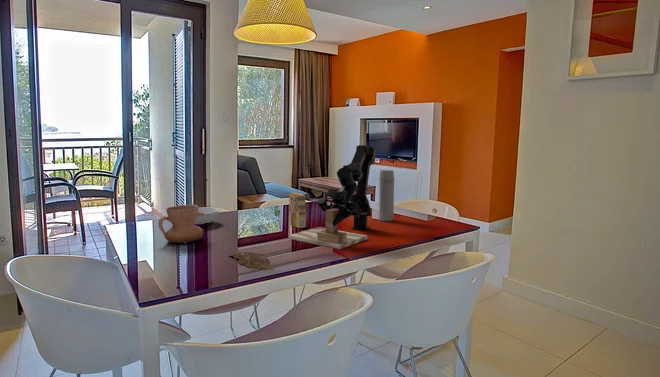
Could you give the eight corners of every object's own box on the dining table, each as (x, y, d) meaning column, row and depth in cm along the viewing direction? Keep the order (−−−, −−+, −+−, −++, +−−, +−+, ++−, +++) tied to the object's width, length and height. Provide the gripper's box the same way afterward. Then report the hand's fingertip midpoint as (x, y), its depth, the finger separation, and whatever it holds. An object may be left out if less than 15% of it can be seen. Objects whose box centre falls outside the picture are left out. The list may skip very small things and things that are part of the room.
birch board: (318, 230, 191) (318, 226, 191) (367, 239, 176) (367, 235, 175) (289, 238, 177) (289, 235, 176) (339, 249, 161) (339, 245, 161)
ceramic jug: (201, 234, 183) (199, 202, 181) (210, 241, 171) (208, 207, 169) (156, 241, 174) (153, 207, 172) (163, 249, 162) (160, 212, 160)
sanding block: (326, 236, 174) (326, 207, 172) (346, 240, 168) (346, 210, 166) (317, 239, 169) (317, 209, 168) (337, 243, 163) (337, 212, 161)
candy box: (306, 227, 197) (306, 194, 195) (298, 228, 195) (297, 195, 193) (297, 223, 205) (296, 192, 203) (289, 225, 202) (288, 193, 200)
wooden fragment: (224, 254, 155) (224, 252, 154) (252, 250, 161) (252, 247, 160) (253, 275, 133) (253, 271, 133) (285, 268, 139) (285, 265, 139)
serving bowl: (212, 229, 193) (211, 214, 192) (166, 229, 193) (165, 214, 193) (224, 220, 214) (223, 206, 213) (182, 220, 214) (181, 206, 213)
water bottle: (382, 218, 218) (383, 169, 215) (396, 219, 213) (397, 170, 210) (373, 221, 211) (374, 170, 207) (387, 223, 206) (388, 171, 203)
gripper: (319, 179, 174) (301, 209, 167) (357, 182, 163) (340, 215, 156) (331, 195, 181) (314, 225, 174) (368, 200, 170) (352, 232, 163)
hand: (329, 224), depth 167 cm, fingers closed on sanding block, 3 cm apart
